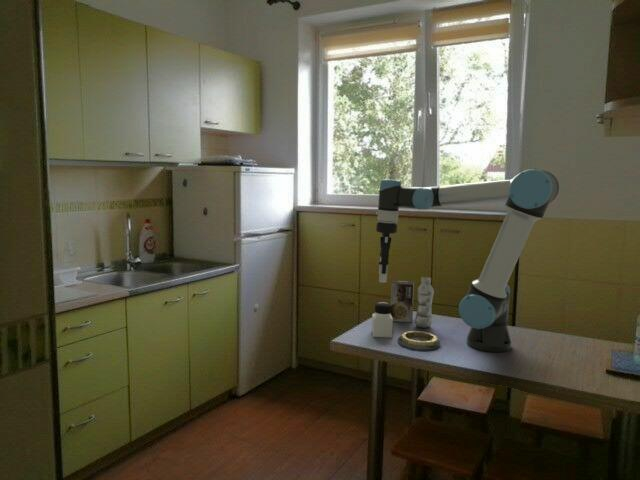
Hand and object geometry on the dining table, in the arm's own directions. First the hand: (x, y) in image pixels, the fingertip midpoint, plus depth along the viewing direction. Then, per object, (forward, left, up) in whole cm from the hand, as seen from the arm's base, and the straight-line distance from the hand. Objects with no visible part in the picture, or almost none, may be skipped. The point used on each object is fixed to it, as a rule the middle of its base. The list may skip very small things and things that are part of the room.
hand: (382, 278), depth 183 cm
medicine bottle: (-1, 0, -22) cm, 22 cm away
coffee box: (-10, -21, -22) cm, 32 cm away
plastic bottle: (-18, -12, -22) cm, 30 cm away
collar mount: (-14, +8, -22) cm, 27 cm away
